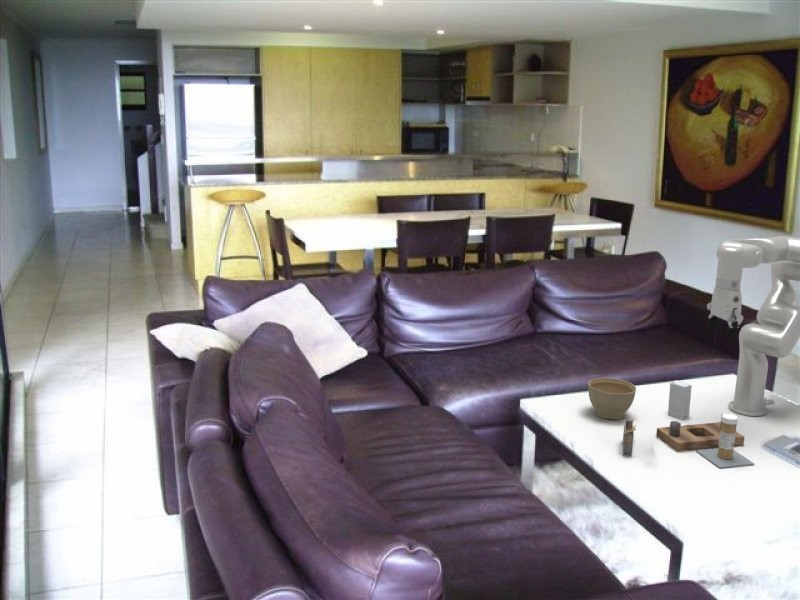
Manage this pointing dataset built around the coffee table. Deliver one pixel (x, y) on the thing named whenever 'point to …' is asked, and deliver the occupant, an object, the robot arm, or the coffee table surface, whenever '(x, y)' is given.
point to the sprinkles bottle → (727, 436)
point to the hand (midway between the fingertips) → (721, 334)
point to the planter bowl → (611, 397)
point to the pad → (724, 463)
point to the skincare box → (679, 399)
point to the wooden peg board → (694, 436)
